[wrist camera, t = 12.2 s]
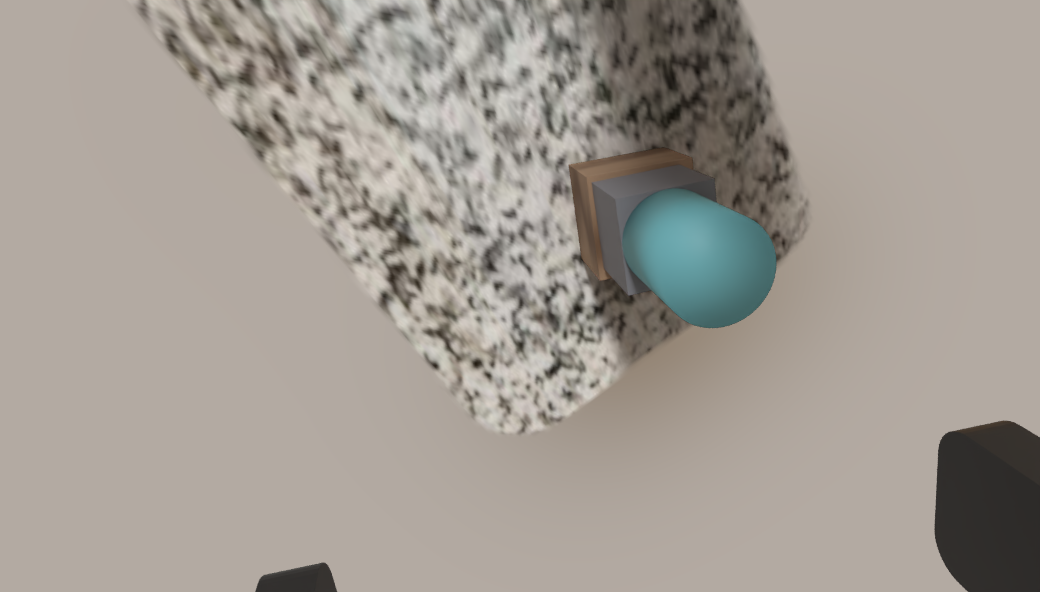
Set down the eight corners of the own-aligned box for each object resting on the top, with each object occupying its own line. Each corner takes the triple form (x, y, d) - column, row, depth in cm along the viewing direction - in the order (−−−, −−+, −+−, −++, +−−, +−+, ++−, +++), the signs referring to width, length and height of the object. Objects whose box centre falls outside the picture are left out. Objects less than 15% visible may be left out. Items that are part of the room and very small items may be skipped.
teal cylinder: (617, 197, 35) (656, 224, 29) (716, 180, 35) (774, 203, 30) (627, 295, 37) (667, 338, 31) (722, 276, 37) (778, 316, 31)
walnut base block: (568, 164, 44) (586, 177, 40) (663, 146, 45) (692, 157, 40) (581, 257, 46) (599, 280, 42) (671, 240, 47) (700, 260, 42)
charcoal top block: (591, 182, 40) (615, 199, 35) (679, 164, 40) (714, 178, 35) (603, 268, 41) (628, 295, 37) (688, 250, 42) (722, 274, 37)
